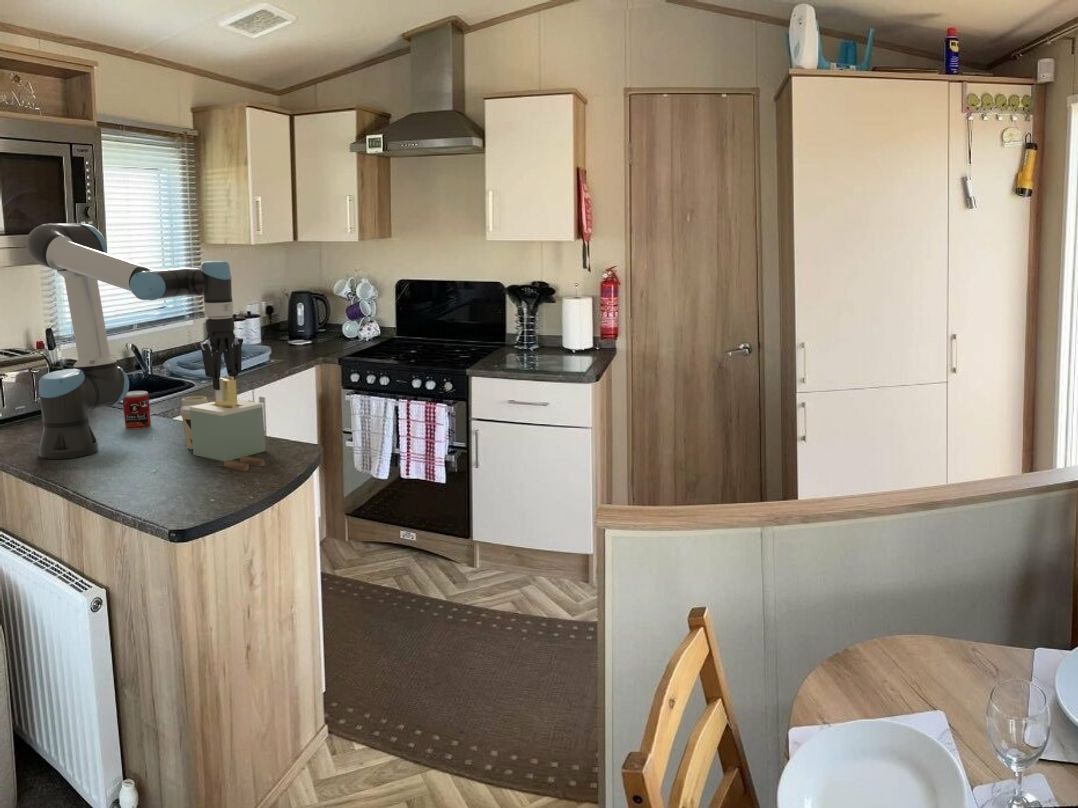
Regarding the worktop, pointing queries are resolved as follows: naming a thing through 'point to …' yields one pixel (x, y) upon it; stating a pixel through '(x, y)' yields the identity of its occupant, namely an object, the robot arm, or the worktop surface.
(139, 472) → the worktop surface
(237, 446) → the green cube box
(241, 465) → the holder
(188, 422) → the coffee cup
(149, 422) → the canned food
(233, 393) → the yellow wooden block
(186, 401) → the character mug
